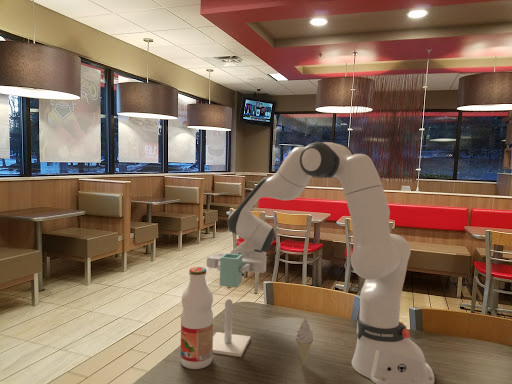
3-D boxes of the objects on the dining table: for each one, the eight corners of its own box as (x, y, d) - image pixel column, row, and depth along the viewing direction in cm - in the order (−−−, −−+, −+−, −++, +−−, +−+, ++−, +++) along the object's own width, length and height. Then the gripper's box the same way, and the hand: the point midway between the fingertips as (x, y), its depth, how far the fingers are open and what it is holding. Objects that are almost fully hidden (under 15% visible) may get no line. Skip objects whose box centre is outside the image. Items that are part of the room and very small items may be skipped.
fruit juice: (213, 369, 108) (214, 273, 106) (179, 371, 106) (180, 274, 104) (211, 352, 117) (213, 264, 115) (181, 354, 116) (181, 264, 113)
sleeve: (241, 281, 123) (242, 254, 122) (236, 287, 117) (237, 259, 116) (225, 280, 124) (225, 253, 123) (219, 285, 118) (220, 257, 118)
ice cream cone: (311, 371, 108) (313, 320, 106) (293, 369, 109) (295, 318, 107) (312, 362, 113) (314, 313, 111) (295, 360, 114) (297, 312, 112)
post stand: (250, 339, 126) (251, 295, 125) (240, 356, 115) (242, 308, 114) (216, 334, 129) (217, 291, 128) (203, 351, 117) (204, 304, 116)
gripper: (214, 247, 135) (199, 256, 121) (270, 252, 130) (261, 262, 117) (213, 264, 135) (199, 275, 122) (269, 269, 131) (261, 282, 117)
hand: (230, 269), depth 119 cm, fingers closed on sleeve, 6 cm apart
